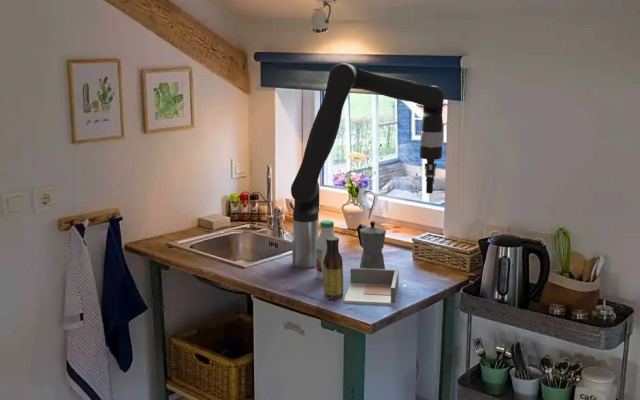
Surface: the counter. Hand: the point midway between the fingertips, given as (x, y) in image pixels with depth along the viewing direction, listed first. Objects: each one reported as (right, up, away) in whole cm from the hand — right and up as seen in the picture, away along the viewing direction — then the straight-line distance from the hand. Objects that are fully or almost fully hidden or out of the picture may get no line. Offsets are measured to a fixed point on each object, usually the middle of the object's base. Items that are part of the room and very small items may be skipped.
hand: (429, 190), depth 255 cm
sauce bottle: (-34, -35, -19) cm, 52 cm away
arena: (-21, -34, -17) cm, 44 cm away
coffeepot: (-20, -29, +7) cm, 36 cm away
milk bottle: (-35, -30, 0) cm, 47 cm away
